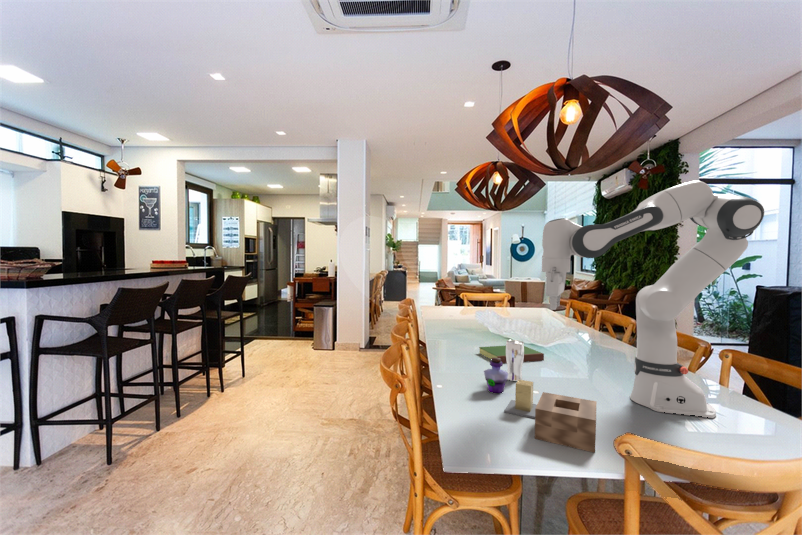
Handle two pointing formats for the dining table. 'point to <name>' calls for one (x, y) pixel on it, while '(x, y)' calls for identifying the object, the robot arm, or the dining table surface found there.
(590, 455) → the dining table surface
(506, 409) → the slate pad
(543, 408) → the wooden slotted box
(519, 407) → the tan wooden block
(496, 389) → the potion bottle
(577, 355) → the dining table surface
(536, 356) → the hardcover book
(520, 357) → the beer glass
